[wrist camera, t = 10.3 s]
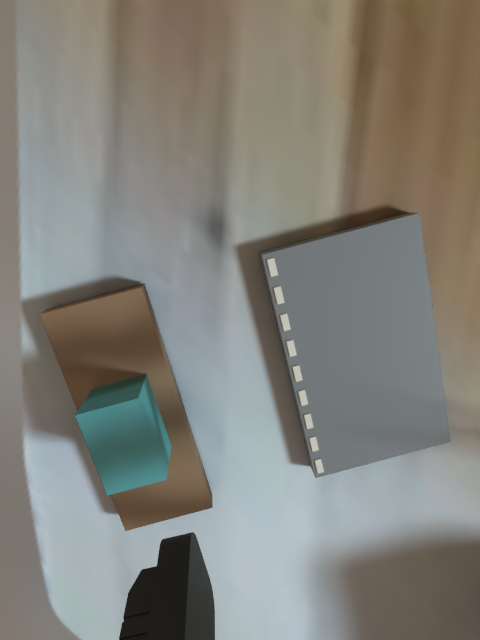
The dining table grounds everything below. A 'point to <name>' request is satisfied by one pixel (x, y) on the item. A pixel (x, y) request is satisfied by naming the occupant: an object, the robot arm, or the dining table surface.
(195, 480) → the wooden base with cube
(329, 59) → the dining table surface
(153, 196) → the dining table surface
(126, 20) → the dining table surface
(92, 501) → the dining table surface
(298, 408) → the gray notebook
